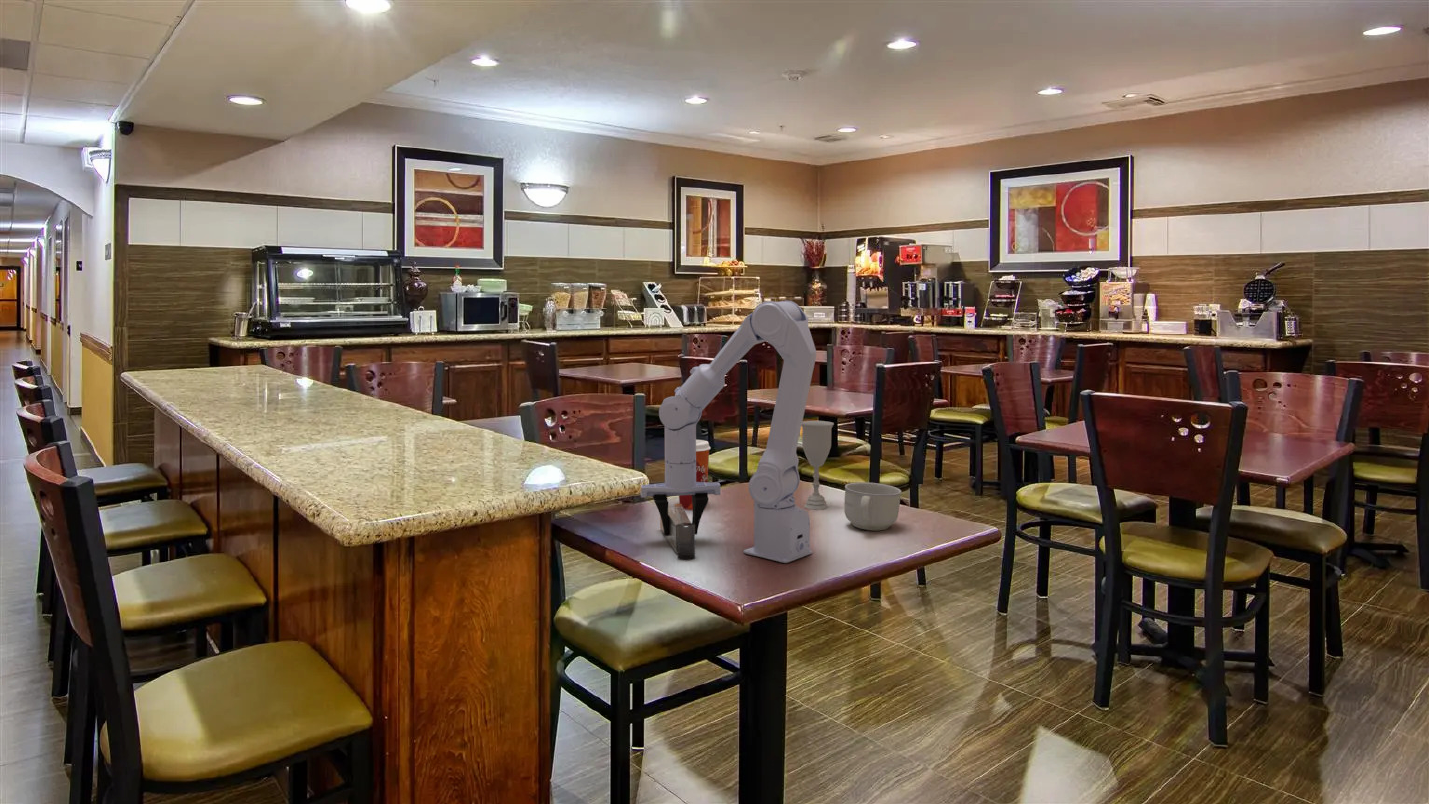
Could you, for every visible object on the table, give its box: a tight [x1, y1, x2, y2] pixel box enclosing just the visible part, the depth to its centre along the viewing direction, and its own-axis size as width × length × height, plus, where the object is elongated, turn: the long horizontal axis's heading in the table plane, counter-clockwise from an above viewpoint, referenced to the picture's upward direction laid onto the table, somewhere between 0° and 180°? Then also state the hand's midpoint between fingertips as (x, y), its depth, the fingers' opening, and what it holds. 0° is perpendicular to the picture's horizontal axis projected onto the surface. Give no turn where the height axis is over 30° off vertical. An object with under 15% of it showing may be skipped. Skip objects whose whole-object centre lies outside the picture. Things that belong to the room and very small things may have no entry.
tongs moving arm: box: [659, 505, 681, 554], centre depth 167 cm, size 17×1×5 cm, turn 13°
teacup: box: [843, 481, 902, 532], centre depth 175 cm, size 14×11×8 cm
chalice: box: [801, 420, 835, 511], centre depth 192 cm, size 7×7×18 cm
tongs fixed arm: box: [674, 503, 696, 561], centre depth 166 cm, size 20×3×6 cm, turn 9°
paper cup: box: [678, 439, 711, 511], centre depth 193 cm, size 8×8×14 cm
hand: (680, 533), depth 167 cm, fingers open, 5 cm apart
